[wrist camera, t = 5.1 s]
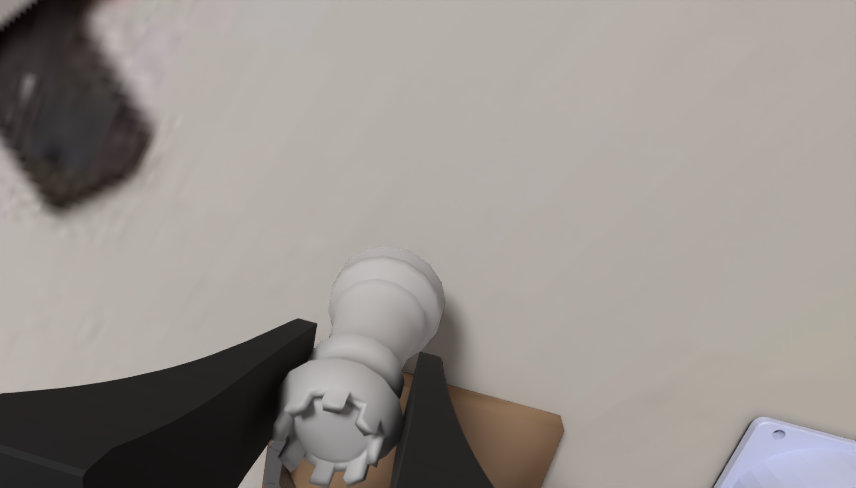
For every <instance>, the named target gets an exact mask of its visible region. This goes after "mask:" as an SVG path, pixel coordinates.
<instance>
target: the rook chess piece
mask: <svg viewBox="0 0 856 488" xmlns="http://www.w3.org/2000/svg"><path fill="white" fill-rule="evenodd" d="M444 306H445V299H444V293H443V287H442V282H441V281H440V279H439V278H438V276H437V275H436V273H435V272H434V270H433V269H432V267H431V266H430V264H428V263H427V262H426V261H424V260H423V259H421V258H420V257H418V256H417V255H416V254H414V253H413V252H411V251H407V250H403V249H399V248H395V247H391V246H385V247H377V248H370V249H366V250H364V251H363V252H361V253H359V254H358V255H356V256H354V257H352V258H351V259H349V260H348V262H347V263H346V265H345V266H344V268H343V269H342V270H341V272H340V273H339V275H338V277H337V280H336V281H335V282H334V284H333V285H332V290H331V296H330V303H329V310H328V311H329V314H330V318H331V323H332V330H331V333H330V336H329V339H327V340H325V341H323V342H321V343H319V344H318V345H317V347H316V348H315V349H314V351H313V352H312V354H311V355H310V356H309V359H308V362H306V363H305V364H303V365H301V366H299V367H297V368H295V369H293V370H292V371H290V372H289V373H288V374H287V376H286V377H285V379H284V380H283V381H282V383H281V384H280V386H279V387H278V389H277V395H276V404H275V411H276V414H277V419H276V421H275V422H274V424H273V432H272V441H282V442H284V440H285V441H286V443H285V445H284V447H283V449H282V450H281V452H280V454H279V456H278V459H279V460H280V461H281V462H282V463H283V464H284V466H285V467H286V468H287V469H288V470H289V471H290V472H292V471H293V470H294V469H296V468H297V467H298V466H299V464H300V462H301V460H302V459H303V460H305V461H306V462H308V463H309V464H311V465H313V466H314V467H315V469H314V471H313V473H312V476H311V478H310V480H309V484H313V485H317V486H321V487H325V488H329V486H330V483H331V480H332V478H333V475H334V472H345V475H344V478H343V479H344V481H345V482H346V484H347V486H348V488H349V487H351V486H353V485H356V484H358V483H360V482H363V481H365V480H366V476H367V473H368V469H369V466H370V465H371V466H374V467H376V468H377V465H378V461H379V460H380V459H382V458H384V457H386V456H387V455H388V453H389V452H390V451H391V450H392V449H393V448H394V447H395V446H396V445H397V444H398V442H399V441H400V437H401V433H402V429H403V425H404V418H403V413H402V409H401V405H400V400H399V399H400V398H401V395H402V391H403V387H404V383H405V381H404V376H403V372H402V368H403V366H404V365H405V363H406V361H407V359H408V358H410V357H412V356H413V355H415V354H417V353H419V352H421V351H422V350H423V348H424V347H425V346H426V345H427V344H428V342H429V341H430V340H431V339H432V338H433V336H434V335H435V334H436V333H437V330H438V326H439V323H440V321H441V317H442V313H443V309H444Z"/></svg>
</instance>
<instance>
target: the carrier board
mask: <svg viewBox="0 0 856 488" xmlns="http://www.w3.org/2000/svg"><path fill="white" fill-rule="evenodd" d="M314 349H315V348H313V351H314ZM403 376H404V381H405V383H404V387H403V391H402V395H401V398H400V399H399V400H400V405H401V409H402V413H403V415H404V412H405V408H406V404H407V400H408V396H409V392H410V388H411V384H412V380H413V377H414V375H410V374H407V373H403ZM447 388H448V391H449V395H450V398H451V401H452V404H453V407H454V410H455V413H456V415H457V418H458V420H459V423H460V425H461V428H462V430H463V432H464V435H465V437H466V439H467V441H468V443H469V445H470V447H471V449H472V451H473V453H474V455H475V457H476V459H477V460H478V462H479V464H480V466H481V467H482V469H483V471H484V473H485V474H486V476H487V477H488V479H489V480H490V482H491V483H492V485H493V486H494V488H541V485H542V483H543V481H544V478H545V476H546V473H547V471H548V468H549V466H550V464H551V461H552V459H553V456H554V454H555V451H556V449H557V447H558V444H559V442H560V439H561V437H562V434H563V432H564V428H563V424H562V420H561V417H560V415H556V414H552V413H549V412H545V411H541V410H538V409H534V408H530V407H527V406H523V405H520V404H516V403H512V402H509V401H505V400H501V399H498V398H494V397H490V396H487V395H483V394H479V393H476V392H472V391H469V390H465V389H461V388H458V387H454V386H450V385H447ZM271 442H272V439H271V440H270V442H269V443H268V446H267V453H268V447H269V445H270V443H271ZM395 451H396V446H395V447H394V448H393V449H392V450H391V451H390V452H389V453H388V455H387V456H386V457H384V458H382V459H380V460H379V461H378V465H377V468H376V467H374V466H371V465H370V466H369V469H368V473H367V476H366V480H365V481H363V482H360V483H358V484H356V485H353V486H351V487H349V488H390V482H391V476H392V470H393V464H394V457H395ZM266 461H267V454H266ZM266 461H265V468H266ZM314 469H315V467H314V466H313V465H311V464H309V463H308V462H306V461H305V460H303V459H302V460H301V462H300V464H299V466H298V467H297V468H296V469H294V470H293V471H292V472H290V471H289V473H290V475H291V477H292V479H293V481H294V483H295V485H296V487H297V488H325V487H321V486H317V485H313V484H309V480H310V478H311V476H312V473H313V471H314ZM344 475H345V472H334V475H333V478H332V480H331V483H330V486H329V488H348V486H347V484H346V482H345V481H344V479H343V478H344ZM264 476H265V469H264ZM264 483H265V482H264V477H263V484H262V488H266V487H265V485H264Z"/></svg>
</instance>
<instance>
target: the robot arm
mask: <svg viewBox="0 0 856 488" xmlns="http://www.w3.org/2000/svg"><path fill="white" fill-rule="evenodd" d="M316 328H317V323H313V322H310V321H306V320H302V319H299V318H298V319H295V320H293V321H290V322H288V323H286V324H284V325H281V326H279V327H277V328H275V329H273V330H271V331H268V332H266V333H264V334H262V335H259V336H257V337H255V338H253V339H250V340H248V341H246V342H243V343H241V344H238V345H236V346H233V347H231V348H228V349H225V350H223V351H220V352H218V353H215V354H213V355H210V356H207V357H204V358H201V359H198V360H195V361H192V362H188V363H185V364H182V365H178V366H175V367H171V368H167V369H163V370H159V371H155V372H150V373H146V374H142V375H137V376H133V377H128V378H123V379H118V380H112V381H107V382H101V383H94V384H88V385H81V386H74V387H66V388H57V389H46V390H36V391H25V392H15V393H2V394H0V488H238V486H239V485H240V483H241V482H242V480H243V479H244V477H245V475H246V474H247V473H248V471H249V470H250V468H251V467H252V466H253V464H254V463H255V461H256V460H257V459H258V457H259V456H260V454H261V453H262V452H263V450H264V449H265V447H266V446H267V445H268V443H269V442H270V440H271V439H272V432H273V424H274V422H275V421H276V419H277V414H276V411H275V404H276V395H277V389H278V387H279V386H280V384H281V383H282V381H283V380H284V379H285V377H286V376H287V374H288V373H289V372H290V371H292V370H293V369H295V368H297V367H299V366H301V365H303V364H305V363H306V362H308V359H309V356H310V355H311V354H312V352H313V347H314V341H315V334H316ZM403 418H404V425H403V429H402V433H401V437H400V441H399V442H398V444H397V445H396V451H395V457H394V464H393V470H392V476H391V482H390V488H494V486H493V485H492V483H491V482H490V480H489V479H488V477H487V476H486V474H485V473H484V471H483V469H482V467H481V466H480V464H479V462H478V460H477V459H476V457H475V455H474V453H473V451H472V449H471V447H470V445H469V443H468V441H467V439H466V437H465V435H464V432H463V430H462V428H461V425H460V423H459V420H458V418H457V415H456V413H455V410H454V407H453V404H452V401H451V398H450V395H449V391H448V388H447V384H446V379H445V375H444V369H443V361H442V360H441V358H440V357H437V356H434V355H430V354H426V353H423V352H420V354H419V358H418V361H417V365H416V369H415V373H414V377H413V380H412V384H411V388H410V392H409V396H408V400H407V404H406V408H405V412H404V416H403ZM776 430H778V431H777V432H775V433H773V432H774V431H776ZM714 488H856V441H854V440H850V439H846V438H843V437H839V436H835V435H831V434H828V433H824V432H820V431H817V430H813V429H809V428H805V427H802V426H798V425H794V424H790V423H787V422H783V421H779V420H776V419H772V418H768V417H760V418H757V419H755V420H754V421H753V422H752V423H751V425H750V426H749V428H748V430H747V431H746V433H745V435H744V437H743V438H742V440H741V442H740V443H739V445H738V447H737V449H736V450H735V452H734V454H733V455H732V457H731V459H730V460H729V462H728V464H727V466H726V467H725V469H724V471H723V472H722V474H721V476H720V478H719V479H718V481H717V483H716V484H715V486H714Z"/></svg>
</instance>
